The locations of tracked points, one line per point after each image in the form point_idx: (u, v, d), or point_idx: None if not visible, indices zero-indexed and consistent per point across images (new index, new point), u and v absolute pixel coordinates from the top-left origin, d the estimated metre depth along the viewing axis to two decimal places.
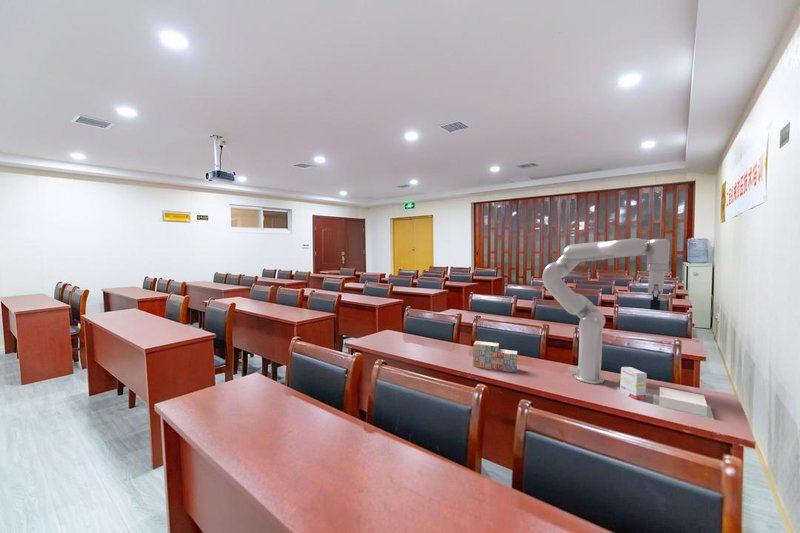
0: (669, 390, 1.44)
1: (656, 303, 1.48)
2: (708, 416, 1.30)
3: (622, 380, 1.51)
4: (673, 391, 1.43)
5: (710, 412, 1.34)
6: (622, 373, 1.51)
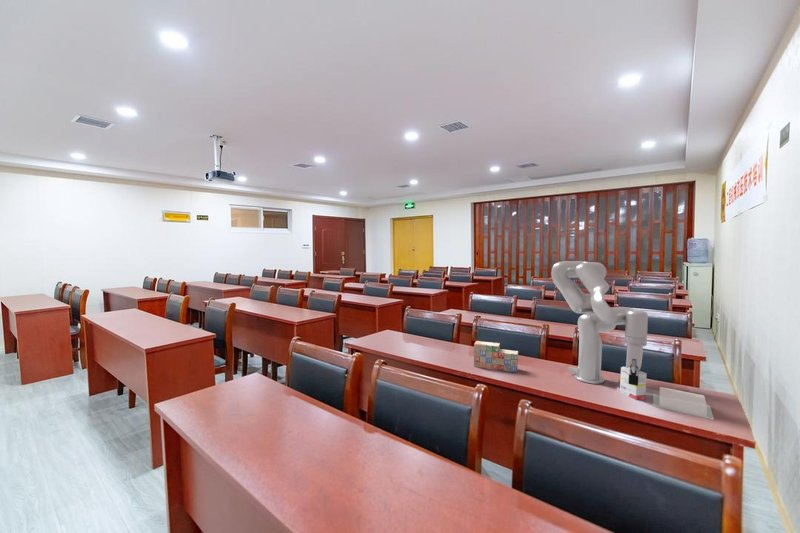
0: (669, 390, 1.44)
1: (634, 379, 1.43)
2: (708, 416, 1.30)
3: (622, 380, 1.51)
4: (673, 391, 1.43)
5: (710, 412, 1.34)
6: (622, 373, 1.51)
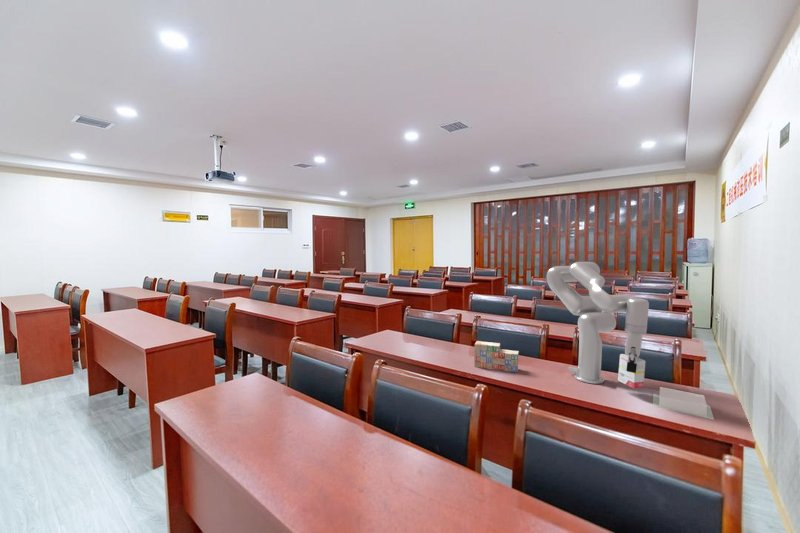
0: (669, 390, 1.44)
1: (632, 366, 1.44)
2: (708, 416, 1.30)
3: (620, 367, 1.51)
4: (673, 391, 1.43)
5: (710, 412, 1.34)
6: (621, 360, 1.51)
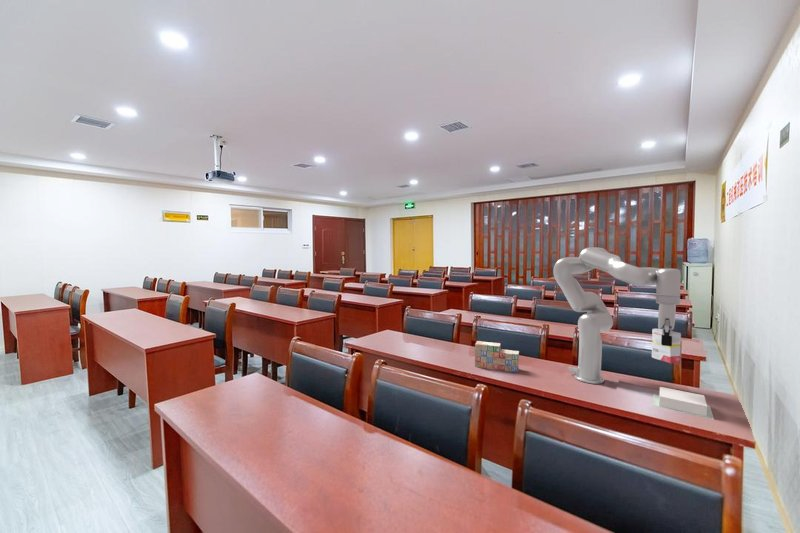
0: (669, 390, 1.44)
1: (667, 339, 1.36)
2: (708, 416, 1.30)
3: (654, 342, 1.44)
4: (673, 391, 1.43)
5: (710, 412, 1.34)
6: (654, 335, 1.44)
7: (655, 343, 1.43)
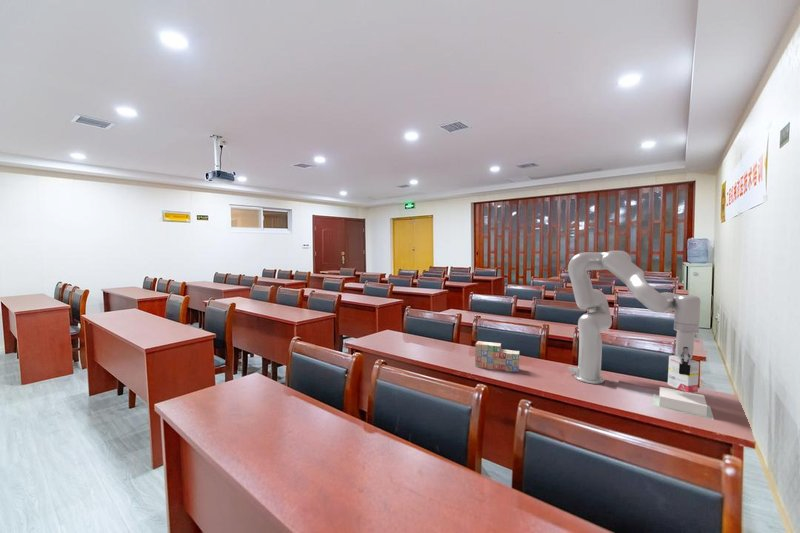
0: (669, 390, 1.44)
1: (686, 368, 1.33)
2: (708, 416, 1.30)
3: (670, 369, 1.41)
4: (673, 391, 1.43)
5: (710, 412, 1.34)
6: (671, 362, 1.41)
7: (672, 370, 1.40)
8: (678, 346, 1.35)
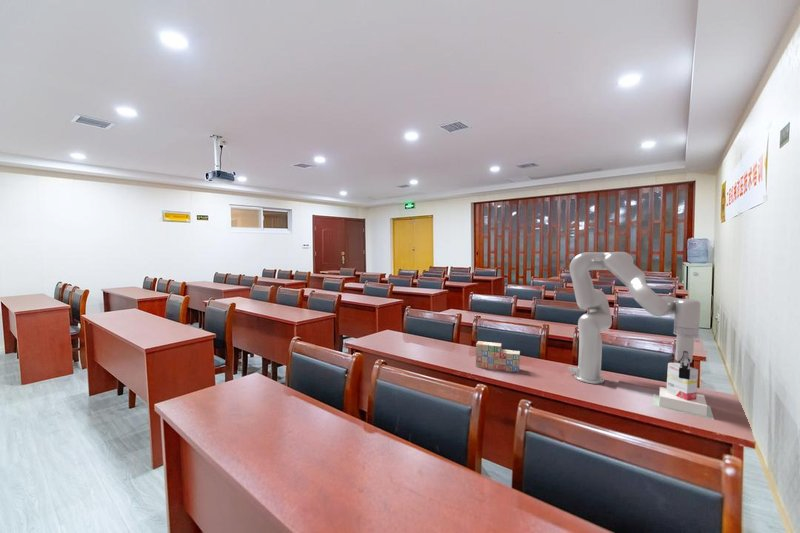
0: None
1: (685, 372, 1.33)
2: (708, 416, 1.30)
3: (669, 377, 1.41)
4: None
5: (710, 412, 1.34)
6: (670, 370, 1.41)
7: (671, 378, 1.41)
8: (678, 350, 1.35)
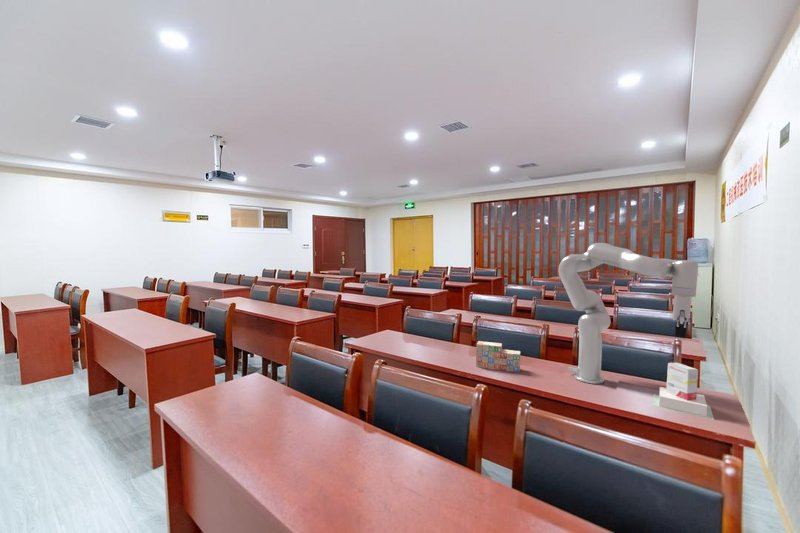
0: None
1: (682, 330, 1.36)
2: (708, 416, 1.30)
3: (669, 377, 1.41)
4: None
5: (710, 412, 1.34)
6: (670, 370, 1.41)
7: (671, 378, 1.41)
8: (675, 309, 1.38)
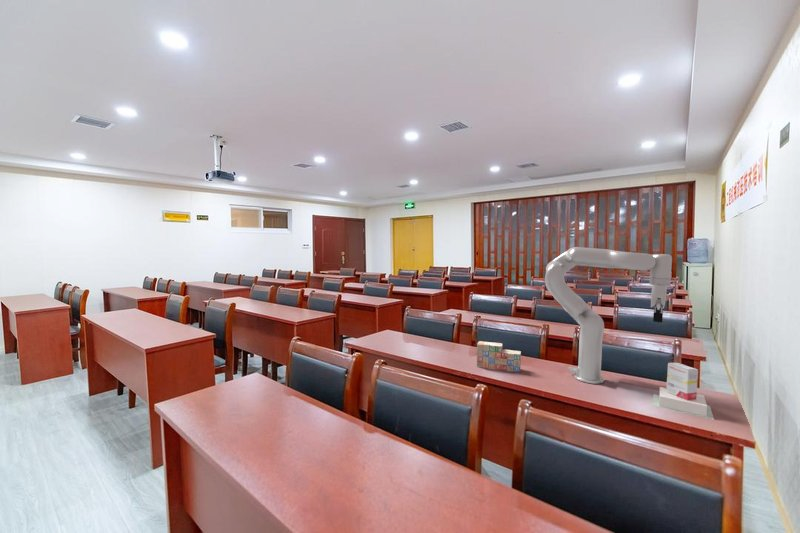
0: None
1: (659, 316, 1.54)
2: (708, 416, 1.30)
3: (669, 377, 1.41)
4: None
5: (710, 412, 1.34)
6: (670, 370, 1.41)
7: (671, 378, 1.41)
8: (652, 297, 1.56)
